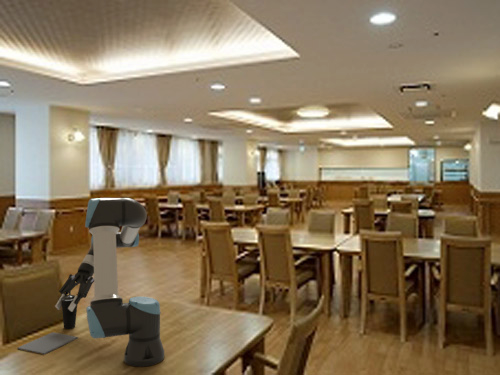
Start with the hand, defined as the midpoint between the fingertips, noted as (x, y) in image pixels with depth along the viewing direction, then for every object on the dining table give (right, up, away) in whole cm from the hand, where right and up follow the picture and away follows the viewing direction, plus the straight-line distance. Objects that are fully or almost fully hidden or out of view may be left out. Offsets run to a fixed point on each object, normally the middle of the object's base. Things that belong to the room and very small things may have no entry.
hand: (63, 309), depth 195 cm
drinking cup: (+1, -10, +4) cm, 10 cm away
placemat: (0, -10, -15) cm, 18 cm away
